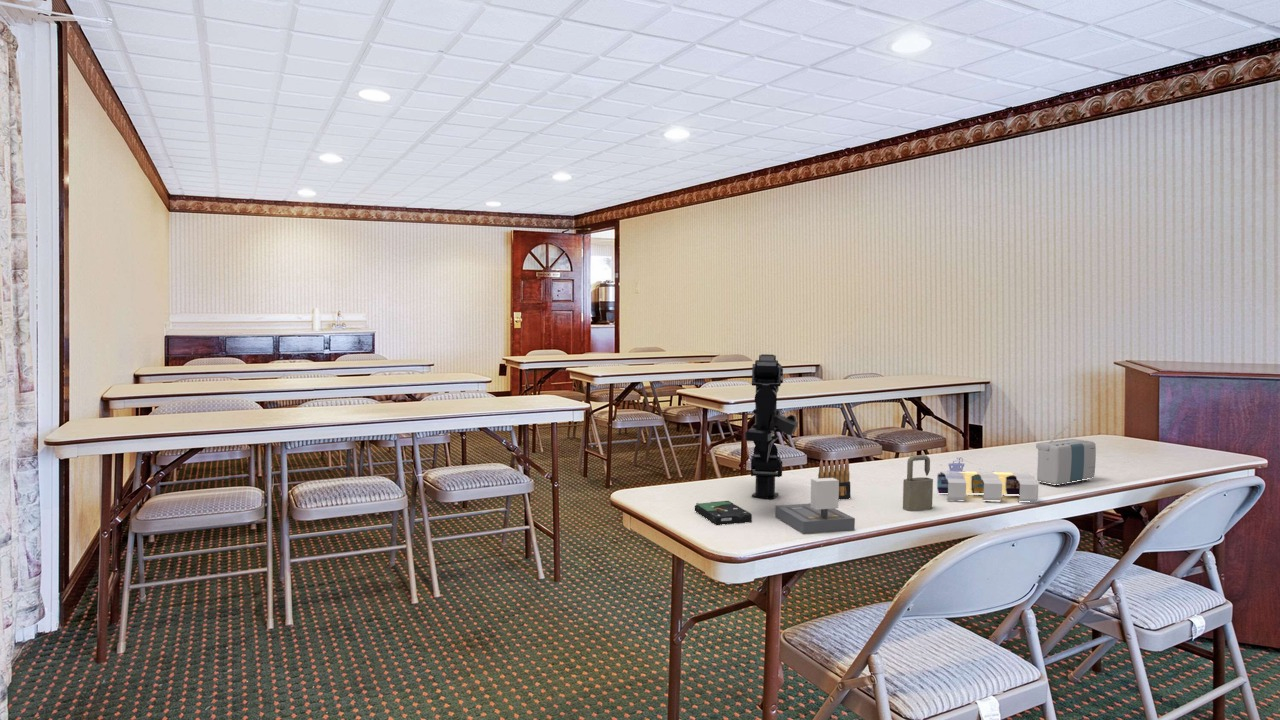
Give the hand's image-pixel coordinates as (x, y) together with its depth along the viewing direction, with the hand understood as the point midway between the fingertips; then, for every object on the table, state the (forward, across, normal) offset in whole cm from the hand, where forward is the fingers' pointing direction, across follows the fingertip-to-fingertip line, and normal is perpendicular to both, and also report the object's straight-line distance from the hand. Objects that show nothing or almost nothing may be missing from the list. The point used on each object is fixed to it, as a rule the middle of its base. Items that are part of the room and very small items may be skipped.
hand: (765, 462), depth 203 cm
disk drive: (+14, -12, +8) cm, 20 cm away
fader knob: (+10, -12, -19) cm, 24 cm away
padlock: (+13, +20, -38) cm, 45 cm away
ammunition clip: (+13, +20, -15) cm, 28 cm away
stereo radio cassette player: (+13, +78, -78) cm, 111 cm away
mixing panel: (+13, -8, -15) cm, 22 cm away
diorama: (+14, +42, -55) cm, 70 cm away
